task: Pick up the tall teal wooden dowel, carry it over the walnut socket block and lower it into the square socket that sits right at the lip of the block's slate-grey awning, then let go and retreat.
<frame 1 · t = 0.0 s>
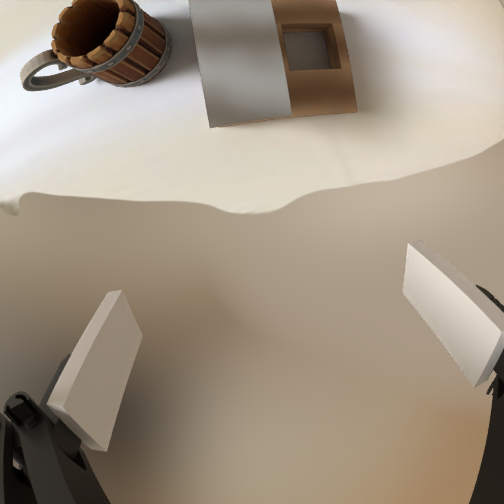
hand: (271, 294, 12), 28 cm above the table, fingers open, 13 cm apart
mug: (120, 62, 30), on the table
socket block: (272, 61, 31), on the table
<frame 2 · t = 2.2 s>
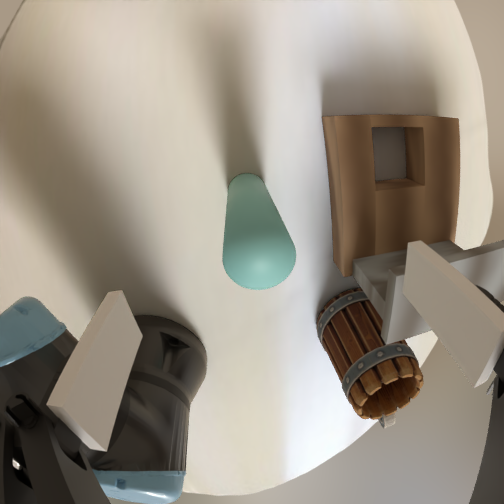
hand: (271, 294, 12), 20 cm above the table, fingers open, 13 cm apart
mug: (352, 328, 40), on the table
peg: (247, 191, 30), on the table
socket block: (391, 189, 31), on the table
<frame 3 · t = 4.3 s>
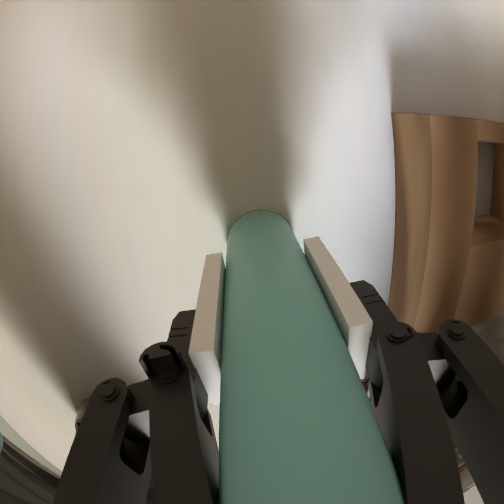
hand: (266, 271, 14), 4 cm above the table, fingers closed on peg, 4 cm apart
peg: (260, 242, 17), on the table, touching gripper
socket block: (471, 232, 18), on the table
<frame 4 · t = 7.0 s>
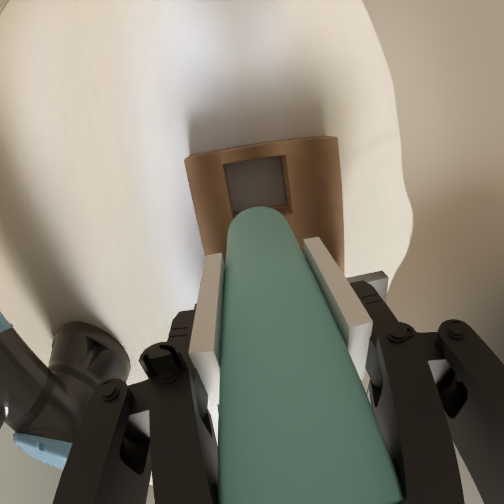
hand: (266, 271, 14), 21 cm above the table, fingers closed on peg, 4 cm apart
peg: (259, 237, 18), point 17 cm above the table, touching gripper
socket block: (269, 216, 35), on the table
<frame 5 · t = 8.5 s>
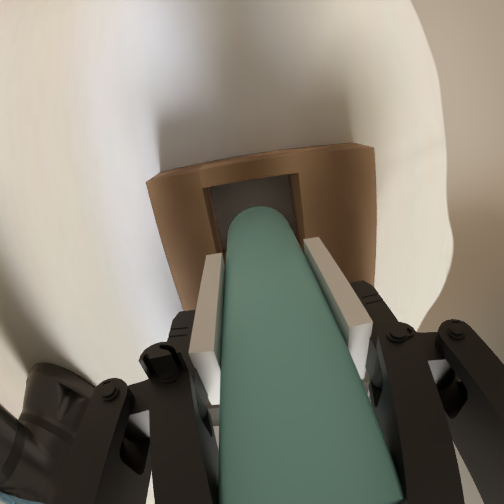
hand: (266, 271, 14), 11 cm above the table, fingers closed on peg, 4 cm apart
peg: (259, 236, 18), point 6 cm above the table, touching gripper
socket block: (273, 255, 26), on the table
when the fingers open (5 cm above the table, at t = 9.9 s): peg stays where it is, resting in socket block.
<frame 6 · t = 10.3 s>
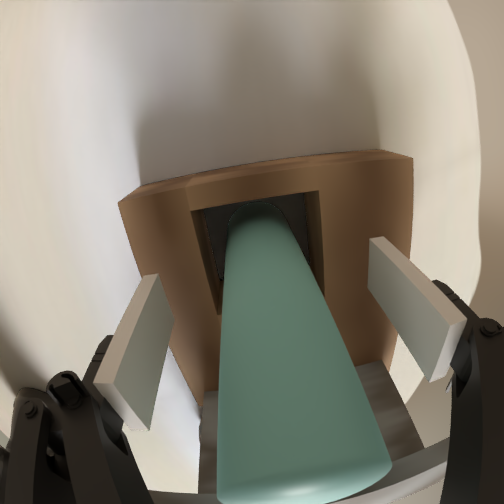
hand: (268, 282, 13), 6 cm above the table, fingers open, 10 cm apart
peg: (257, 231, 19), resting in socket block
socket block: (280, 286, 21), on the table
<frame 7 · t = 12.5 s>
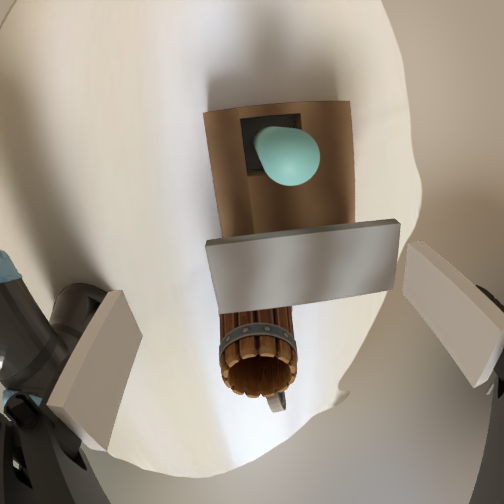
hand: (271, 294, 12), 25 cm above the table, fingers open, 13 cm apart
mug: (259, 311, 44), on the table
peg: (270, 142, 33), resting in socket block
socket block: (282, 176, 35), on the table
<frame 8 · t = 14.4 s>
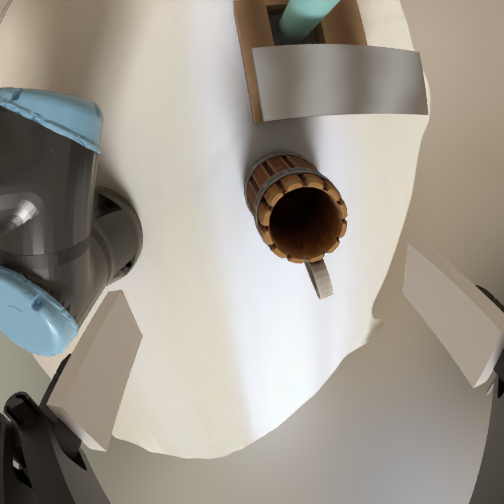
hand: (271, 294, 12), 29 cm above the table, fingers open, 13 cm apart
mug: (287, 204, 41), on the table
peg: (290, 33, 30), resting in socket block
socket block: (303, 61, 32), on the table
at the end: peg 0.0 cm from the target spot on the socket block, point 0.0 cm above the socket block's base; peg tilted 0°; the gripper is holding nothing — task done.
